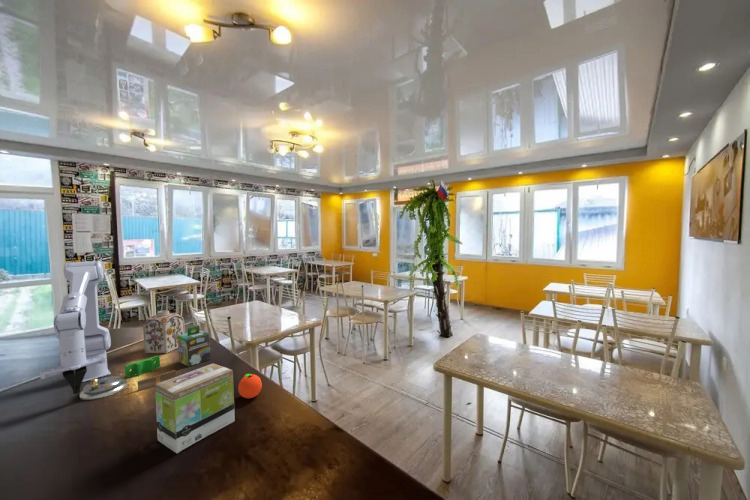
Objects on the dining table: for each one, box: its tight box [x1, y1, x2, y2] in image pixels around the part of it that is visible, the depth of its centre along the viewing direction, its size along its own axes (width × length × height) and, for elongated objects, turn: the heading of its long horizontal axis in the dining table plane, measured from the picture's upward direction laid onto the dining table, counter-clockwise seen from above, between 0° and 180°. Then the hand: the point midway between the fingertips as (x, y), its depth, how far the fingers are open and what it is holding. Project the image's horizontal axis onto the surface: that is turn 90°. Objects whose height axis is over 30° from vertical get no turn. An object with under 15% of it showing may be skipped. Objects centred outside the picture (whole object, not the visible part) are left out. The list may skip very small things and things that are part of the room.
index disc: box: [82, 375, 124, 395], centre depth 105 cm, size 10×10×4 cm
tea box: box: [154, 363, 236, 454], centre depth 80 cm, size 15×10×15 cm
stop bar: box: [137, 369, 177, 392], centre depth 108 cm, size 1×11×3 cm, turn 139°
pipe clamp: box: [124, 355, 161, 378], centre depth 119 cm, size 11×4×5 cm, turn 148°
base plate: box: [79, 379, 128, 401], centre depth 105 cm, size 12×12×1 cm
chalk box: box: [177, 325, 212, 368], centre depth 128 cm, size 9×9×15 cm
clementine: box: [237, 373, 263, 399], centre depth 97 cm, size 8×7×7 cm
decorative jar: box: [142, 309, 186, 354], centre depth 144 cm, size 12×12×18 cm
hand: (76, 392), depth 97 cm, fingers closed
